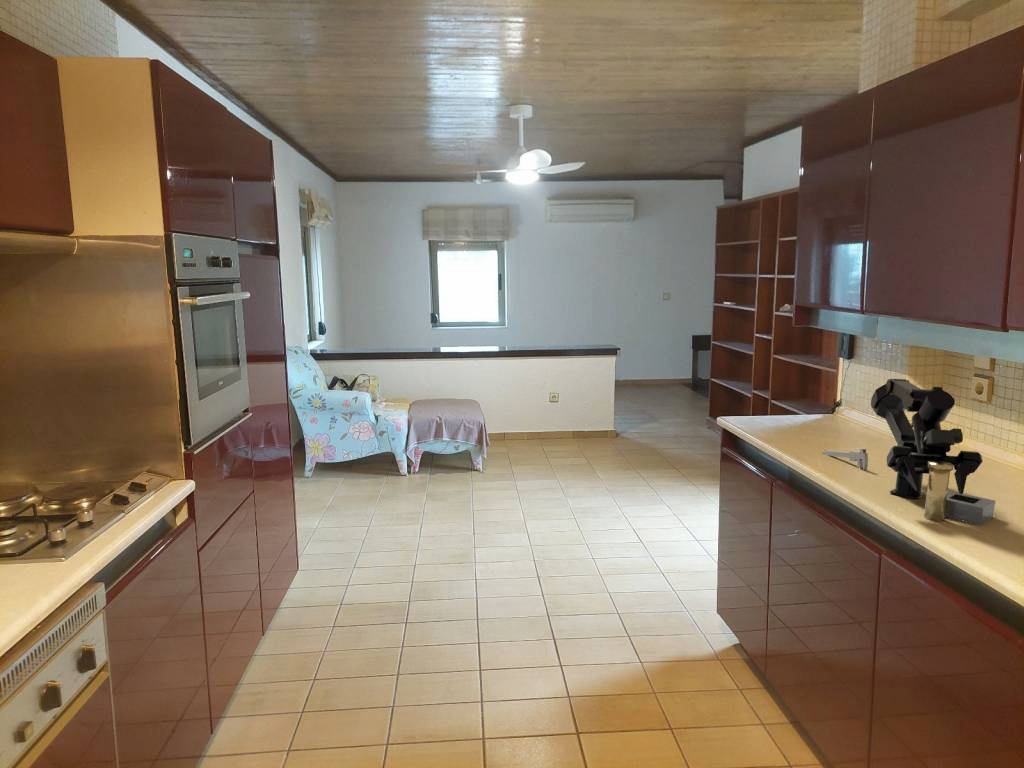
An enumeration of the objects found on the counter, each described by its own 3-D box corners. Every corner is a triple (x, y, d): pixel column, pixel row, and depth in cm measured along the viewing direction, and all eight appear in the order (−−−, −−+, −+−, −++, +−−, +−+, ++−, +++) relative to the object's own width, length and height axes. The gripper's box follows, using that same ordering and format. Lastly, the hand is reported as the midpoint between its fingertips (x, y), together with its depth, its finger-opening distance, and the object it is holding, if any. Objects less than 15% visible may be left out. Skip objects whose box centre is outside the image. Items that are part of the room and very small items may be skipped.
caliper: (867, 471, 205) (869, 450, 204) (863, 471, 205) (866, 450, 204) (824, 453, 225) (826, 434, 224) (821, 453, 225) (823, 434, 224)
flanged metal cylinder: (926, 513, 169) (932, 459, 167) (949, 519, 165) (956, 464, 163) (918, 517, 166) (924, 462, 164) (942, 523, 162) (949, 467, 160)
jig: (945, 506, 175) (947, 490, 174) (993, 517, 167) (995, 500, 167) (932, 513, 169) (934, 497, 168) (980, 525, 162) (983, 508, 161)
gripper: (895, 412, 168) (905, 470, 159) (984, 417, 164) (999, 477, 155) (882, 437, 177) (890, 494, 168) (966, 443, 173) (979, 501, 164)
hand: (939, 491), depth 163 cm, fingers open, 9 cm apart
